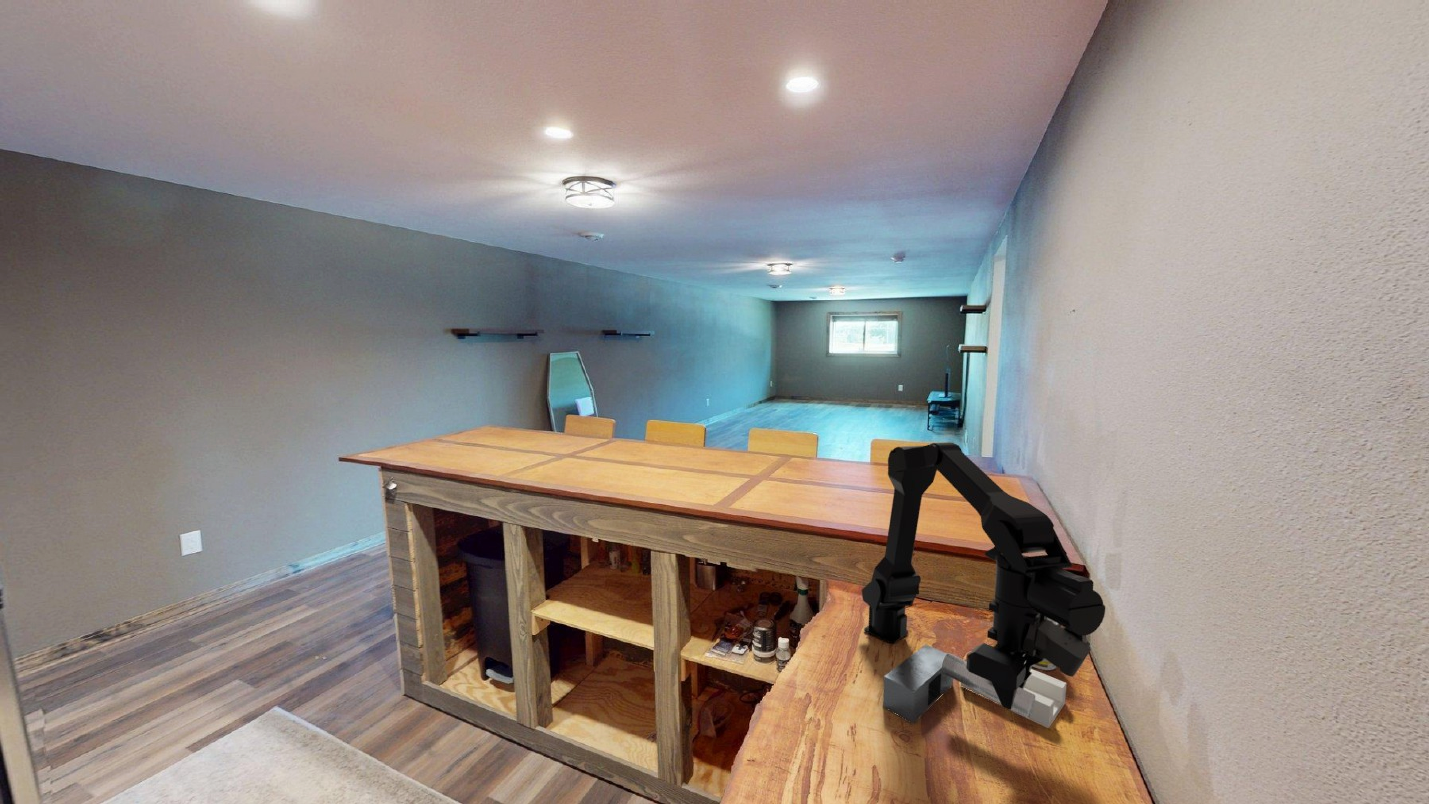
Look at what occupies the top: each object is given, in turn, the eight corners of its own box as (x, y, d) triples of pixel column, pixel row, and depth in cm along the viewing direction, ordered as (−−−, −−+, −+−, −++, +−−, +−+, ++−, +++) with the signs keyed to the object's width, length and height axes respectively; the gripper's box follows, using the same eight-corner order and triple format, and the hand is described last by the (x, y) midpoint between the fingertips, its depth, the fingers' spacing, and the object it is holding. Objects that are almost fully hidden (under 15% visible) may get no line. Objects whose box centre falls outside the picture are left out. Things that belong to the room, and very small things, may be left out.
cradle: (960, 686, 87) (961, 667, 87) (980, 667, 93) (981, 648, 92) (1048, 728, 77) (1049, 706, 77) (1065, 703, 83) (1066, 682, 83)
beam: (882, 707, 82) (884, 676, 81) (924, 672, 91) (925, 644, 91) (912, 723, 78) (914, 691, 78) (952, 685, 87) (954, 656, 87)
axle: (940, 676, 80) (943, 657, 80) (949, 668, 82) (952, 649, 82) (1025, 721, 71) (1029, 700, 71) (1033, 711, 73) (1036, 690, 73)
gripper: (1065, 646, 60) (1056, 770, 62) (1103, 598, 73) (1095, 702, 74) (967, 611, 69) (961, 720, 70) (1016, 573, 81) (1011, 667, 82)
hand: (1011, 702), depth 74 cm, fingers closed on axle, 3 cm apart
